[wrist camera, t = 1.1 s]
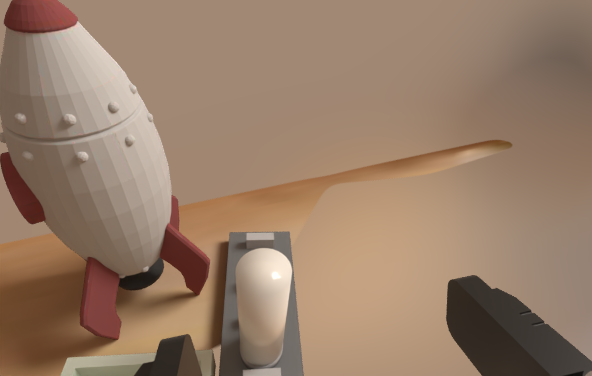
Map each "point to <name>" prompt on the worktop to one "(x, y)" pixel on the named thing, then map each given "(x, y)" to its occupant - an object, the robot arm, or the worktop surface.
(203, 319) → the worktop surface
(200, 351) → the tray
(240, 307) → the cylinder
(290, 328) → the holder
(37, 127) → the toy
